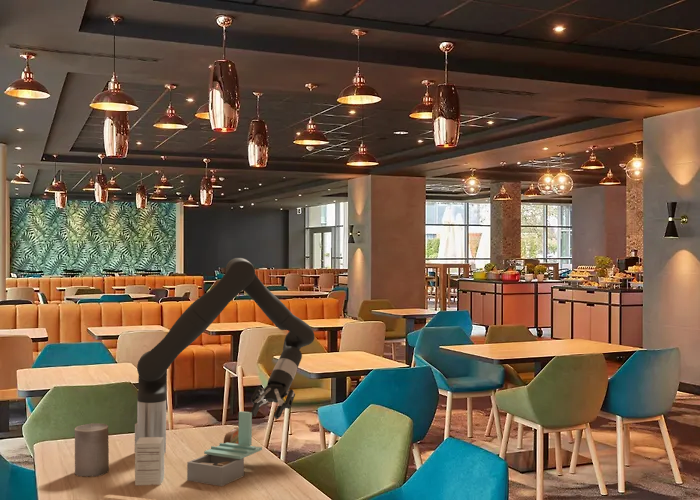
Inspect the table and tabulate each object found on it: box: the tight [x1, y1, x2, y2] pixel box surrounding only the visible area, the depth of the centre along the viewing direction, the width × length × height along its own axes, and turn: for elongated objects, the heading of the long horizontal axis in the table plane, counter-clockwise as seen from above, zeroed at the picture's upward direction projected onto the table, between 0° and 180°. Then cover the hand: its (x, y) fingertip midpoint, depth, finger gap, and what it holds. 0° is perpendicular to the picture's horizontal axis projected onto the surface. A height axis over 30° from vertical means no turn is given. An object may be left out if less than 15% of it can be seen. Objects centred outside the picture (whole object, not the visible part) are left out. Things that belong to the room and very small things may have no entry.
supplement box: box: [134, 437, 165, 486], centre depth 219 cm, size 7×7×13 cm
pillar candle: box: [74, 422, 110, 477], centre depth 230 cm, size 10×10×15 cm
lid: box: [203, 410, 263, 459], centre depth 231 cm, size 13×13×11 cm
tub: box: [186, 454, 245, 487], centre depth 223 cm, size 12×11×6 cm
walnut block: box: [217, 461, 231, 466], centre depth 223 cm, size 4×4×4 cm
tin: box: [223, 426, 239, 444], centre depth 251 cm, size 15×3×8 cm, turn 168°
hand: (264, 416), depth 246 cm, fingers open, 8 cm apart
